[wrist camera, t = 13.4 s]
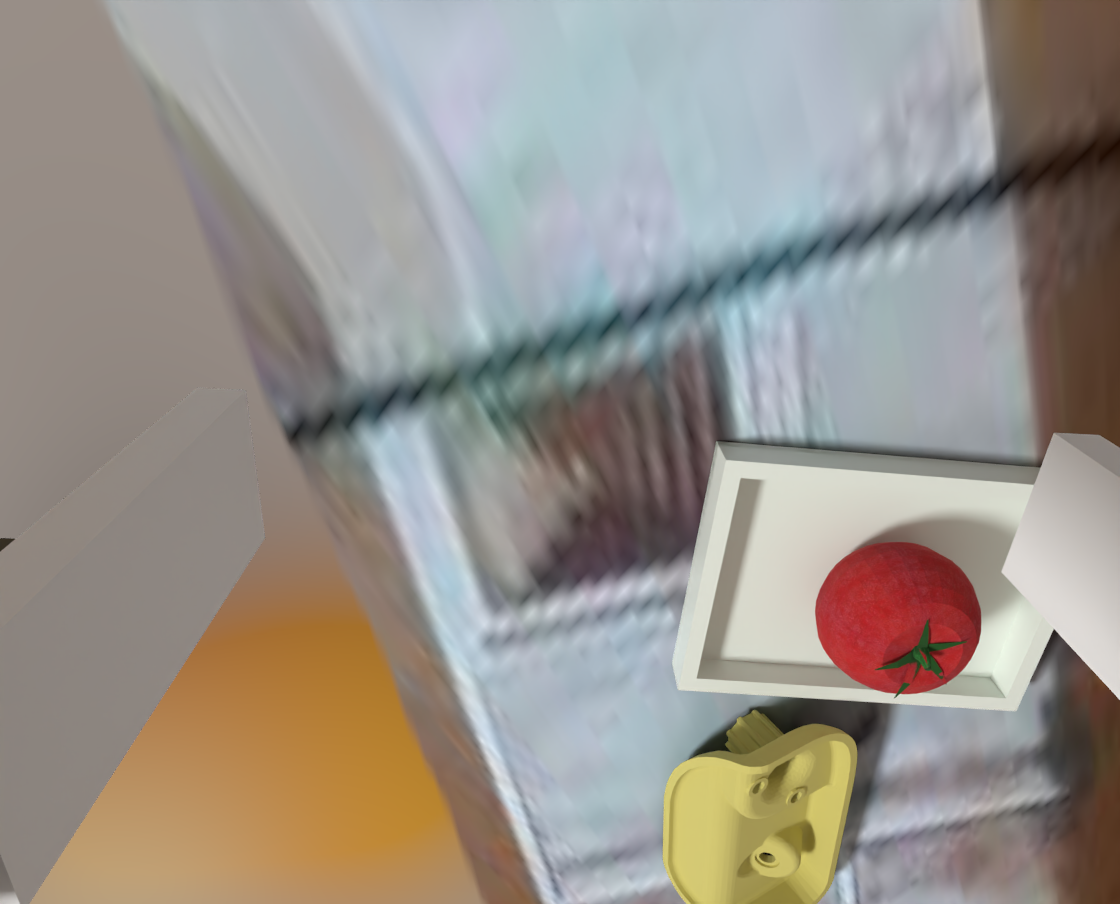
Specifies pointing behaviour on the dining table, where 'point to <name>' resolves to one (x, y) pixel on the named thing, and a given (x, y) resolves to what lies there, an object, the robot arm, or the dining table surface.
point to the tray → (825, 539)
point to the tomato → (898, 617)
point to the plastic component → (759, 815)
